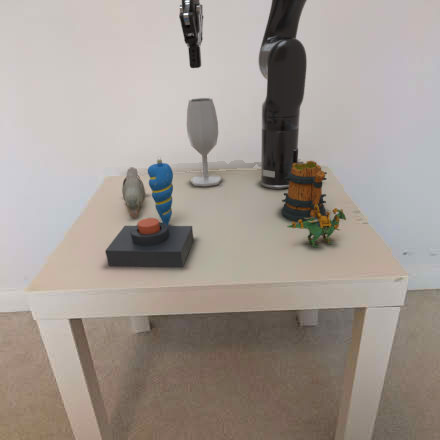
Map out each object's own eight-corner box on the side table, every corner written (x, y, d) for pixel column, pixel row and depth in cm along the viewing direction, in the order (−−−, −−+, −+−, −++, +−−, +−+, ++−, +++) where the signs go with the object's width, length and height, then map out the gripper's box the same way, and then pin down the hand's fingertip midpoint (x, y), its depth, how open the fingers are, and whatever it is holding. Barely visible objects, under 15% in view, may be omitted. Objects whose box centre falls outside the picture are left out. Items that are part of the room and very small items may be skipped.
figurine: (347, 243, 76) (352, 202, 72) (288, 253, 74) (290, 212, 69) (339, 236, 79) (344, 196, 74) (282, 246, 76) (284, 205, 72)
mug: (274, 208, 93) (275, 157, 86) (315, 203, 94) (319, 152, 88) (294, 230, 82) (297, 175, 75) (340, 224, 83) (347, 169, 77)
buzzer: (193, 240, 81) (191, 217, 78) (182, 267, 72) (179, 242, 69) (127, 239, 83) (122, 217, 80) (108, 266, 73) (102, 241, 71)
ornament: (152, 225, 88) (141, 155, 80) (174, 220, 90) (166, 151, 82) (159, 233, 84) (148, 161, 76) (182, 228, 86) (174, 157, 78)
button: (162, 226, 76) (161, 217, 75) (157, 235, 73) (155, 226, 72) (142, 226, 76) (140, 217, 75) (136, 235, 73) (134, 226, 72)
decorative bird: (123, 220, 91) (117, 188, 87) (126, 196, 105) (120, 167, 101) (146, 217, 92) (141, 185, 88) (146, 194, 105) (142, 165, 101)
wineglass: (221, 186, 107) (217, 101, 96) (189, 188, 108) (181, 103, 96) (222, 176, 115) (218, 96, 103) (191, 178, 115) (184, 98, 103)
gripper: (202, -47, 68) (208, 69, 77) (212, -37, 79) (217, 64, 88) (159, -43, 69) (171, 71, 78) (175, -34, 80) (184, 66, 89)
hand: (195, 67), depth 83 cm, fingers closed
